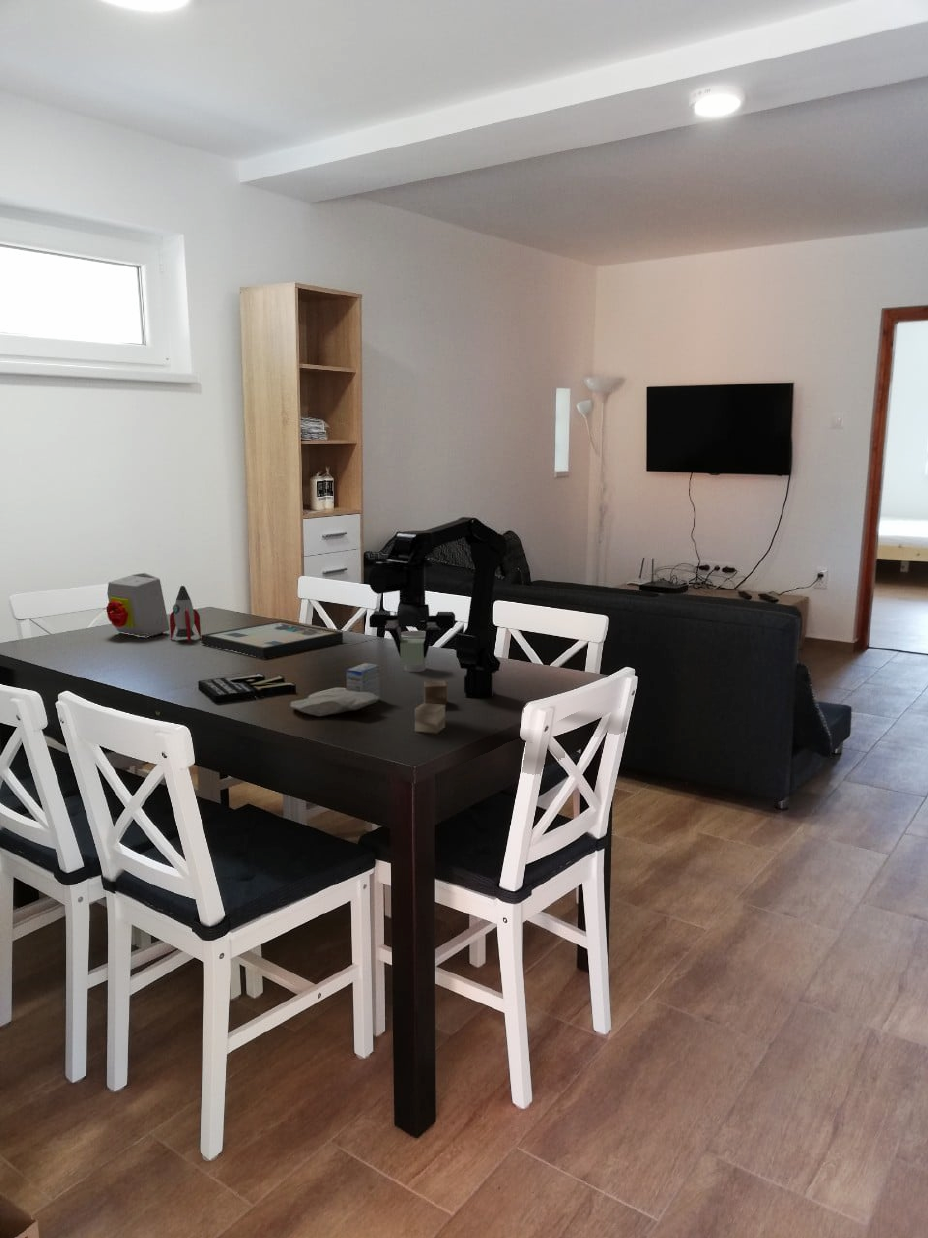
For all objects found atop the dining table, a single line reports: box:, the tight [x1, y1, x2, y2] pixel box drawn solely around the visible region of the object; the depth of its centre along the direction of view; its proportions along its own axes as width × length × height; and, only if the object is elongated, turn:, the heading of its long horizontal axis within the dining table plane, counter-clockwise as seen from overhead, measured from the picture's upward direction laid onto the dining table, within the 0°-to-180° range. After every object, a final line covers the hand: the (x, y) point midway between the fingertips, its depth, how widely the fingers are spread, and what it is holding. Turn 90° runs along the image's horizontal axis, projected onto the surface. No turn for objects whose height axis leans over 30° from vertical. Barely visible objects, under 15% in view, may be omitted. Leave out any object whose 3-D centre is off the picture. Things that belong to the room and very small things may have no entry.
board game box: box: [201, 620, 344, 659], centre depth 289 cm, size 30×4×30 cm
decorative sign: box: [197, 672, 297, 705], centre depth 233 cm, size 17×2×20 cm
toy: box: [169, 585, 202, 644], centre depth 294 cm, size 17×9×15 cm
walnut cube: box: [423, 680, 448, 707], centre depth 221 cm, size 5×5×5 cm
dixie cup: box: [401, 630, 428, 673], centre depth 254 cm, size 8×8×10 cm
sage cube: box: [400, 639, 427, 666], centre depth 211 cm, size 5×5×5 cm
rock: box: [290, 687, 381, 717], centre depth 215 cm, size 21×5×15 cm
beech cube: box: [414, 702, 446, 734], centre depth 201 cm, size 5×5×5 cm
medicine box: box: [346, 662, 381, 700], centre depth 222 cm, size 8×4×9 cm, turn 154°
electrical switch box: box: [105, 572, 170, 637], centre depth 300 cm, size 15×15×20 cm
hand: (413, 657), depth 211 cm, fingers closed on sage cube, 5 cm apart
